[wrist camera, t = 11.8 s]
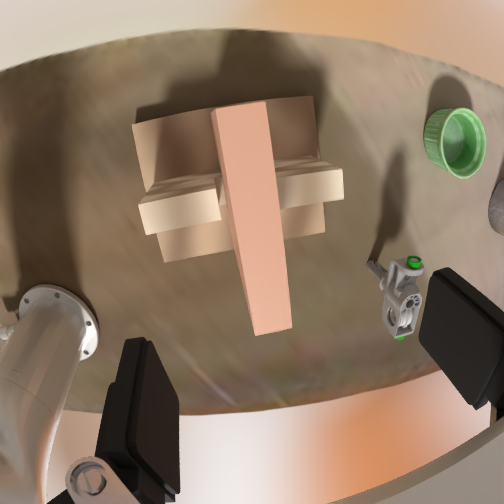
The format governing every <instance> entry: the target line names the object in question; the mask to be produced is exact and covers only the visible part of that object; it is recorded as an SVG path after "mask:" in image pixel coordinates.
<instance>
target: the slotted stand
mask: <svg viewBox="0 0 504 504" xmlns="http://www.w3.org/2000/svg"><path fill="white" fill-rule="evenodd" d="M257 102H265V103H266V109H267V116H268V123H269V130H270V137H271V145H272V152H273V160H274V167H275V175H276V183H277V191H278V199H279V207H280V215H281V224H282V233H283V240H285V239H290V238H296V237H301V236H306V235H312V234H317V233H322V232H325V224H324V207H323V202H327V201H334V200H340V199H344V191H343V173H342V169H341V168H339V167H336V166H334V165H332V164H329V163H327V162H325V161H322V160H320V155H319V145H318V135H317V126H316V117H315V108H314V100H313V96H299V97H287V98H276V99H267V100H258V101H250V102H243V103H236V104H229V105H223V106H217V107H211V108H205V109H200V110H194V111H189V112H184V113H179V114H175V115H170V116H166V117H161V118H157V119H153V120H149V121H145V122H141V123H137V124H133V125H132V129H133V134H134V139H135V144H136V149H137V154H138V158H139V163H140V168H141V172H142V177H143V181H144V185H145V190H146V194H145V196H144V197H143V199H142V200H141V201H140V203H139V204H138V206H139V210H140V214H141V218H142V221H143V225H144V229H145V232H146V235H149V234H153V233H156V234H157V237H158V241H159V245H160V248H161V252H162V255H163V259H164V262H170V261H175V260H180V259H185V258H190V257H196V256H201V255H206V254H211V253H216V252H222V251H227V250H232V249H234V245H233V240H232V235H231V229H230V224H229V218H228V213H227V207H226V204H227V202H226V196H225V191H224V185H223V179H222V174H221V169H220V166H219V162H218V156H217V151H216V145H215V139H214V133H213V127H212V121H211V115H210V113H211V112H212V111H213V110H215V109H217V108H223V107H229V106H236V105H243V104H250V103H257Z"/></svg>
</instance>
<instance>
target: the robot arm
mask: <svg viewBox="0 0 504 504" xmlns="http://www.w3.org/2000/svg"><path fill="white" fill-rule="evenodd" d="M19 317H20V319H19V321H18V322H17V323H14V324H13V326H4V327H0V337H1V339H3V340H7V341H6V343H5V344H4V346H3V348H2V349H1V351H0V504H165V502H175V494H179V493H180V467H179V465H180V463H179V400H178V396H177V394H176V392H175V390H174V388H173V386H172V384H171V382H170V380H169V378H168V376H167V373H166V371H165V369H164V367H163V365H162V363H161V360H160V358H159V356H158V354H157V352H156V349H155V347H154V345H153V343H152V341H146V339H145V338H144V337H139V338H132V339H127V340H126V341H125V343H124V347H123V351H122V355H121V359H120V363H119V367H118V372H117V376H116V380H115V382H113V383H111V384H110V385H109V388H108V392H107V396H106V400H105V405H104V410H103V414H102V419H101V424H100V429H99V434H98V440H97V445H96V451H95V457H84V458H81V459H79V460H77V461H76V462H74V463H73V464H72V465H71V466H70V468H69V469H68V471H67V474H66V478H65V481H66V487H67V489H66V490H65V491H63V492H62V493H61V494H59V495H58V496H56V497H55V498H54V499H52V500H51V501H49V502H48V503H47V471H48V464H49V458H50V453H51V449H52V445H53V440H54V437H55V433H56V430H57V426H58V423H59V420H60V417H61V413H62V410H63V407H64V404H65V401H66V398H67V395H68V392H69V389H70V386H71V383H72V380H73V377H74V374H75V372H76V369H77V366H78V363H79V361H80V360H84V359H86V358H88V357H89V356H91V355H92V354H93V352H94V351H95V350H96V347H97V345H98V341H99V328H98V324H97V321H96V319H95V317H94V315H93V313H92V312H91V310H90V309H89V308H88V306H87V305H86V304H85V303H84V302H83V301H82V300H81V299H80V298H79V297H77V296H76V295H74V294H73V293H72V292H70V291H68V290H66V289H64V288H62V287H59V286H56V285H50V284H42V285H37V286H34V287H32V288H31V289H29V290H28V291H27V292H26V293H25V295H24V296H23V298H22V299H21V302H20V305H19ZM419 341H420V343H421V345H422V346H423V347H424V348H425V350H426V351H427V352H428V353H429V354H430V356H431V357H432V358H433V359H434V361H435V362H436V363H437V364H438V366H439V367H440V368H441V369H442V371H443V372H444V373H445V375H446V376H447V377H448V378H449V379H450V381H451V382H452V384H453V385H454V386H455V387H456V389H457V390H458V391H459V393H460V394H461V395H462V397H463V398H464V399H465V401H466V402H467V403H468V404H469V405H472V406H473V407H474V408H475V410H477V409H479V408H481V407H482V406H484V405H485V404H487V402H488V400H489V401H490V403H491V416H490V427H489V428H487V429H485V430H484V431H482V432H481V433H479V434H478V435H476V436H475V437H473V438H471V439H470V440H468V441H467V442H465V443H464V444H462V445H460V446H459V447H457V448H455V449H453V450H452V451H450V452H448V453H446V454H445V455H443V456H441V457H439V458H437V459H435V460H433V461H432V462H430V463H428V464H426V465H424V466H422V467H420V468H418V469H416V470H414V471H412V472H409V473H407V474H405V475H403V476H401V477H398V478H396V479H394V480H392V481H389V482H387V483H384V484H382V485H380V486H377V487H375V488H372V489H369V490H367V491H364V492H361V493H358V494H356V495H353V496H350V497H347V498H344V499H341V500H338V501H335V502H331V503H328V504H504V312H503V311H502V310H501V309H500V308H499V307H497V306H496V305H495V304H494V303H493V302H492V301H490V300H489V299H488V298H487V297H486V296H484V295H483V294H482V293H481V292H480V291H478V290H477V289H476V288H475V287H473V286H472V285H471V284H470V283H469V282H467V281H466V280H465V279H463V278H462V277H461V276H460V275H458V274H457V273H456V272H455V271H453V270H452V269H451V268H449V267H446V268H443V269H440V270H436V271H434V272H433V274H432V277H430V280H429V285H428V291H427V297H426V302H425V308H424V313H423V318H422V322H421V327H420V331H419Z"/></svg>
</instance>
